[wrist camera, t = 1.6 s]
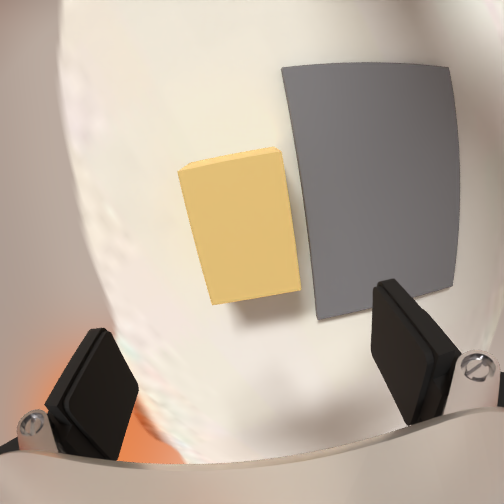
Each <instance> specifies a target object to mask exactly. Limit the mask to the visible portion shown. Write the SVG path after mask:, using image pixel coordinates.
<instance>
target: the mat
mask: <svg viewBox="0 0 504 504" xmlns="http://www.w3.org/2000/svg"><path fill="white" fill-rule="evenodd" d="M281 72H282V77H283V82H284V87H285V92H286V97H287V103H288V108H289V113H290V119H291V125H292V130H293V136H294V142H295V148H296V154H297V160H298V167H299V173H300V180H301V187H302V194H303V201H304V208H305V216H306V223H307V231H308V239H309V248H310V256H311V265H312V275H313V285H314V295H315V305H316V316H317V319H318V320H320V319H324V318H329V317H334V316H339V315H343V314H348V313H352V312H357V311H361V310H365V309H369V308H372V304H373V288H374V287H377V284H378V282H379V281H384V280H388V279H392V278H394V279H395V280H396V281H397V282H398V283H399V284H400V285H401V286H402V287H403V288H404V289H405V290H406V292H407V293H408V294H409V295H410V296H411V297H412V298H413V297H416V296H420V295H424V294H427V293H431V292H434V291H438V290H441V289H444V288H448V287H451V286H453V279H454V272H455V263H456V254H457V244H458V231H459V212H460V160H459V141H458V129H457V119H456V110H455V102H454V95H453V88H452V82H451V76H450V71H449V67H441V66H431V65H420V64H405V63H374V62H361V63H330V64H314V65H302V66H292V67H283V68H281Z"/></svg>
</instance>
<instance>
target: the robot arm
mask: <svg viewBox="0 0 504 504" xmlns="http://www.w3.org/2000/svg"><path fill="white" fill-rule="evenodd" d="M371 353H372V356H373V358H374V360H375V362H376V364H377V366H378V368H379V370H380V372H381V374H382V376H383V378H384V380H385V382H386V384H387V386H388V388H389V390H390V392H391V394H392V396H393V398H394V400H395V402H396V404H397V406H398V409H399V411H400V413H401V415H402V417H403V419H404V421H405V423H406V424H407V425H408V427H405V428H402V429H399V430H396V431H392V432H390V433H386V434H383V435H379V436H376V437H372V438H369V439H365V440H361V441H357V442H353V443H350V444H346V445H341V446H337V447H333V448H328V449H324V450H319V451H314V452H309V453H303V454H298V455H291V456H285V457H278V458H271V459H263V460H254V461H244V462H232V463H215V464H151V463H134V462H123V461H116V460H117V459H118V457H119V453H120V450H121V446H122V443H123V439H124V436H125V433H126V429H127V426H128V423H129V419H130V417H131V413H132V410H133V407H134V404H135V401H136V398H137V395H138V391H139V387H138V383H137V381H136V379H135V378H134V376H133V374H132V372H131V370H130V369H129V367H128V365H127V363H126V361H125V359H124V357H123V355H122V353H121V352H120V350H119V348H118V346H117V344H116V342H115V340H114V338H113V335H112V334H111V332H109V331H107V330H106V329H105V328H97V329H90V330H89V331H88V333H87V335H86V336H85V338H84V339H83V341H82V342H81V344H80V345H79V347H78V349H77V350H76V352H75V353H74V355H73V357H72V358H71V360H70V362H69V363H68V365H67V366H66V368H65V370H64V371H63V373H62V375H61V377H60V378H59V380H58V382H57V383H56V385H55V387H54V389H53V390H52V392H51V394H50V395H49V397H48V399H47V401H46V402H45V404H44V405H45V406H46V407H47V409H48V410H49V411H48V413H45V412H44V411H43V410H39V409H38V410H33V411H30V412H28V413H27V414H25V415H24V416H23V417H22V418H21V420H20V421H19V423H18V426H17V435H18V437H16V438H14V439H13V440H11V441H9V442H7V443H6V444H4V445H2V446H0V504H504V372H500V364H499V362H498V361H497V359H496V358H495V357H494V356H493V355H492V354H490V353H488V352H486V351H482V350H471V351H467V352H465V353H463V354H462V353H461V352H460V351H459V350H458V348H457V347H456V346H455V345H454V344H453V342H452V341H451V340H450V339H449V338H448V336H447V335H446V334H445V333H444V332H443V330H442V329H441V328H440V327H439V326H438V325H437V323H436V322H435V321H434V320H433V319H432V318H431V316H430V315H429V314H428V313H427V312H426V311H425V310H424V309H422V308H421V307H420V306H419V305H418V304H417V303H416V301H415V300H414V299H413V298H412V297H411V296H410V295H409V294H408V293H407V292H406V290H405V289H404V288H403V287H402V286H401V285H400V284H399V283H398V282H397V281H396V280H395V279H394V278H392V279H388V280H384V281H379V282H378V284H377V287H374V288H373V304H372V334H371ZM409 425H411V426H409Z"/></svg>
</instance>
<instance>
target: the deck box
mask: <svg viewBox="0 0 504 504" xmlns="http://www.w3.org/2000/svg"><path fill="white" fill-rule="evenodd" d="M177 172H178V176H179V181H180V185H181V189H182V193H183V197H184V202H185V206H186V210H187V214H188V218H189V222H190V226H191V230H192V234H193V237H194V241H195V245H196V249H197V253H198V256H199V260H200V264H201V267H202V271H203V275H204V278H205V282H206V285H207V289H208V292H209V296H210V299H211V303H212V305H217V304H223V303H230V302H236V301H242V300H248V299H254V298H260V297H266V296H271V295H277V294H283V293H288V292H294V291H299V290H301V283H300V275H299V267H298V259H297V252H296V244H295V237H294V230H293V223H292V216H291V209H290V202H289V196H288V189H287V183H286V176H285V170H284V164H283V158H282V152H281V151H280V150H278V149H277V148H275V147H269V148H263V149H257V150H251V151H246V152H240V153H235V154H230V155H225V156H220V157H215V158H210V159H205V160H201V161H196V162H192V163H189V164H188V165H186V166H185V167H183V168H182V169H180V170H179V171H177Z"/></svg>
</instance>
